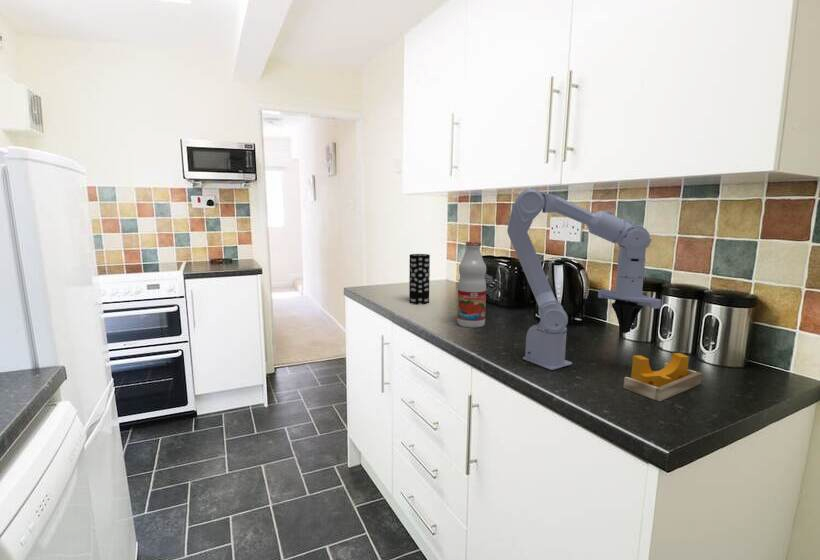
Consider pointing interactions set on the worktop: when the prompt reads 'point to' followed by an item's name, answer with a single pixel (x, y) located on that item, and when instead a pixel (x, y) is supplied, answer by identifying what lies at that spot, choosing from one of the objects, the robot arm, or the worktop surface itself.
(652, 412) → the worktop surface
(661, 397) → the tray
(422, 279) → the spotted tube
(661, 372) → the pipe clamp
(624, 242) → the robot arm
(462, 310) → the fruit juice
